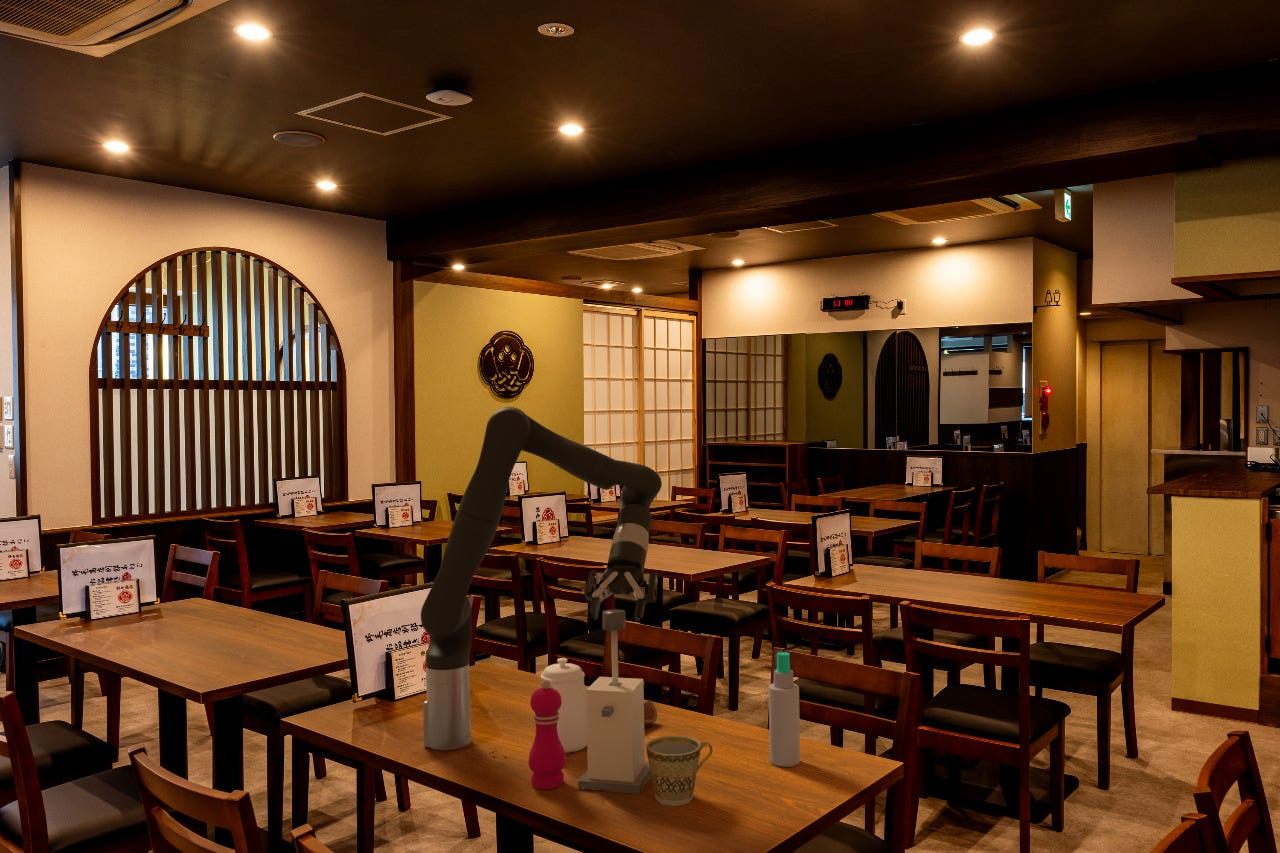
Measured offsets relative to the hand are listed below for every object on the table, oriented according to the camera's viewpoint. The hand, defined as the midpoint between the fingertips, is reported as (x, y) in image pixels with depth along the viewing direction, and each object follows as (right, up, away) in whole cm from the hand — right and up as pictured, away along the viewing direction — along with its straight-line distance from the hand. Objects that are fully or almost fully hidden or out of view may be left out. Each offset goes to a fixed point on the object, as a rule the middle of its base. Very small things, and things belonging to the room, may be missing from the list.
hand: (615, 618), depth 184 cm
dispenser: (0, -31, 0) cm, 31 cm away
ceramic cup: (+12, -31, -10) cm, 35 cm away
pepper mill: (-13, -32, -2) cm, 34 cm away
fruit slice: (+5, -31, +30) cm, 44 cm away
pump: (0, -19, -1) cm, 19 cm away
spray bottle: (+34, -31, +7) cm, 46 cm away
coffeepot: (-12, -31, +18) cm, 38 cm away
